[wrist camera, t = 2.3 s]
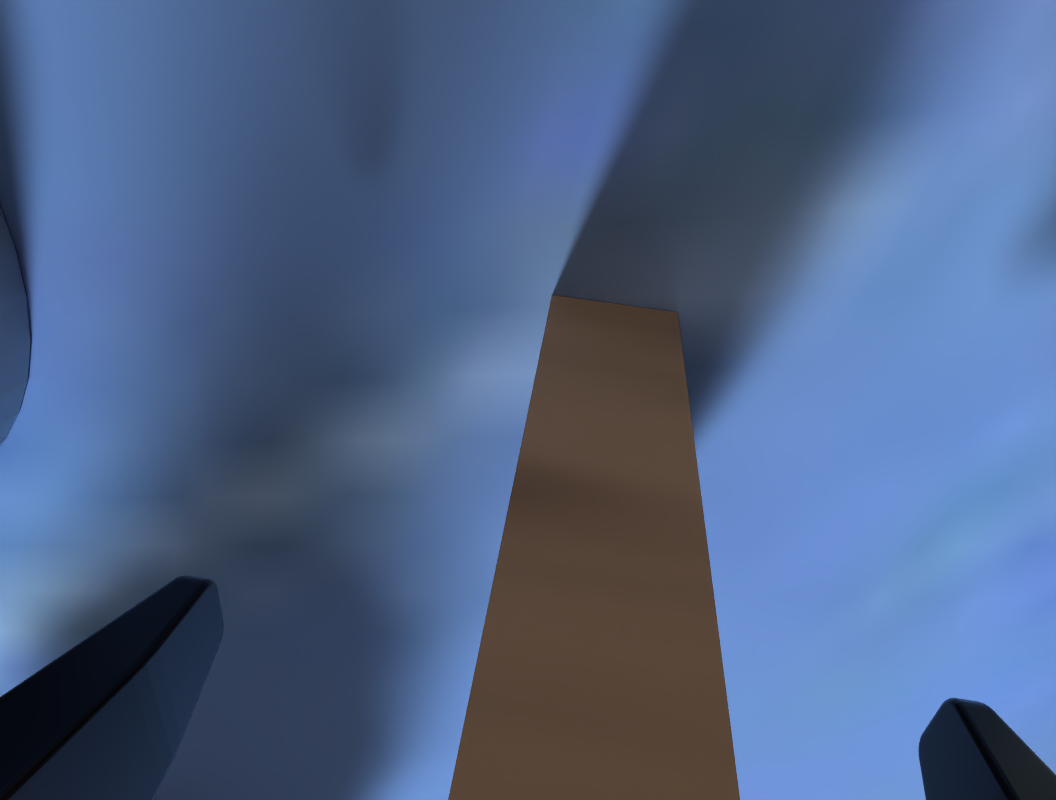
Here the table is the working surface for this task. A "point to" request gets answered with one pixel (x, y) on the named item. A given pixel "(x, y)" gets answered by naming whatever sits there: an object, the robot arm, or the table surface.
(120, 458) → the table surface
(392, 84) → the table surface
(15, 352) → the blue-grey bowl
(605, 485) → the tall brown wooden block
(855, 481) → the table surface
